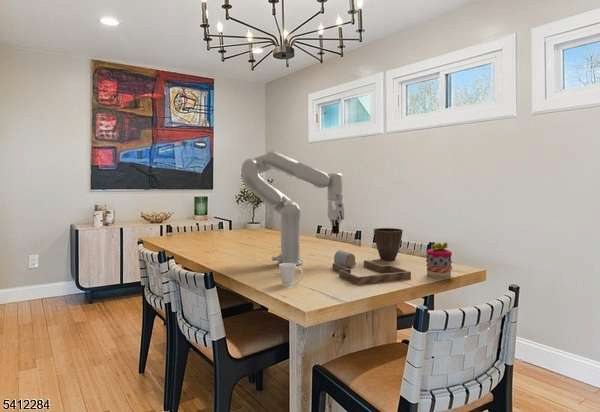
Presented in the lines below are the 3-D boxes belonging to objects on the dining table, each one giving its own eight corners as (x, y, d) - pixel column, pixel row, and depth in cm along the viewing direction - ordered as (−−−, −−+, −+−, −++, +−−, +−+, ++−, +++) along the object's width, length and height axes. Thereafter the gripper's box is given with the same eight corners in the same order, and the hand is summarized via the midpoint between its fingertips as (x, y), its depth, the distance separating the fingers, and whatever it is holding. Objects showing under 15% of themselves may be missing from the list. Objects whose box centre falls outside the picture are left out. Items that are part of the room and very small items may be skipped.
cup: (281, 281, 162) (281, 262, 161) (305, 283, 159) (305, 263, 159) (276, 286, 155) (276, 265, 154) (301, 287, 152) (301, 267, 152)
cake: (420, 274, 174) (421, 240, 173) (437, 271, 179) (438, 239, 178) (439, 279, 165) (440, 243, 164) (456, 276, 170) (457, 242, 169)
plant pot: (397, 263, 198) (397, 232, 197) (369, 260, 206) (369, 230, 205) (405, 258, 211) (406, 229, 210) (379, 256, 218) (379, 227, 218)
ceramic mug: (347, 269, 185) (347, 253, 185) (333, 266, 191) (333, 251, 190) (360, 266, 193) (360, 250, 193) (346, 263, 199) (346, 248, 198)
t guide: (357, 285, 156) (357, 277, 156) (325, 270, 183) (325, 264, 183) (410, 278, 166) (410, 271, 166) (372, 265, 193) (372, 259, 193)
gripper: (348, 197, 194) (349, 234, 195) (334, 196, 208) (335, 231, 209) (335, 198, 191) (335, 235, 193) (321, 197, 205) (322, 232, 206)
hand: (335, 233), depth 201 cm, fingers closed
